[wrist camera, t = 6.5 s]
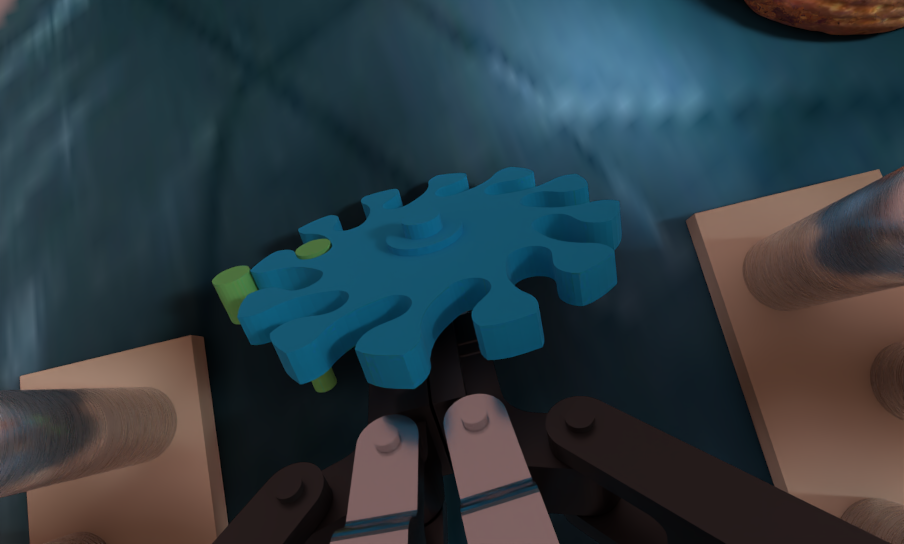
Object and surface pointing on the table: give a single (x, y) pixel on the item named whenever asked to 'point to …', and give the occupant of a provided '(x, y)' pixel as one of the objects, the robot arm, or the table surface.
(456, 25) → the table surface
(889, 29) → the bell
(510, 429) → the robot arm
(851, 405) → the rack
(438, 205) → the gear
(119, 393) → the spacers
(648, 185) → the table surface
